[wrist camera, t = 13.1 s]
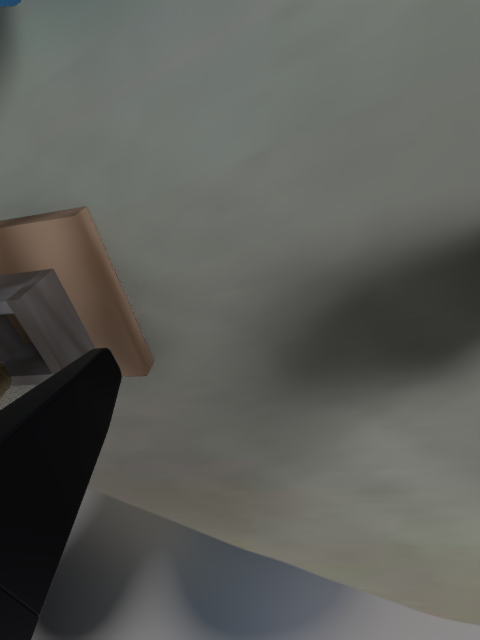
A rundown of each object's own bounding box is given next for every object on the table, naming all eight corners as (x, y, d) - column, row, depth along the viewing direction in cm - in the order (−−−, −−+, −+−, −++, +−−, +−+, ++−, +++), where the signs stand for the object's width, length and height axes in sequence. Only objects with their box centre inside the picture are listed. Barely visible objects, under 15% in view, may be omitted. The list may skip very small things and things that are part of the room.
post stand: (86, 206, 22) (37, 242, 18) (153, 361, 29) (128, 413, 25) (-75, 233, 25) (-148, 270, 21) (20, 369, 32) (-22, 416, 28)
